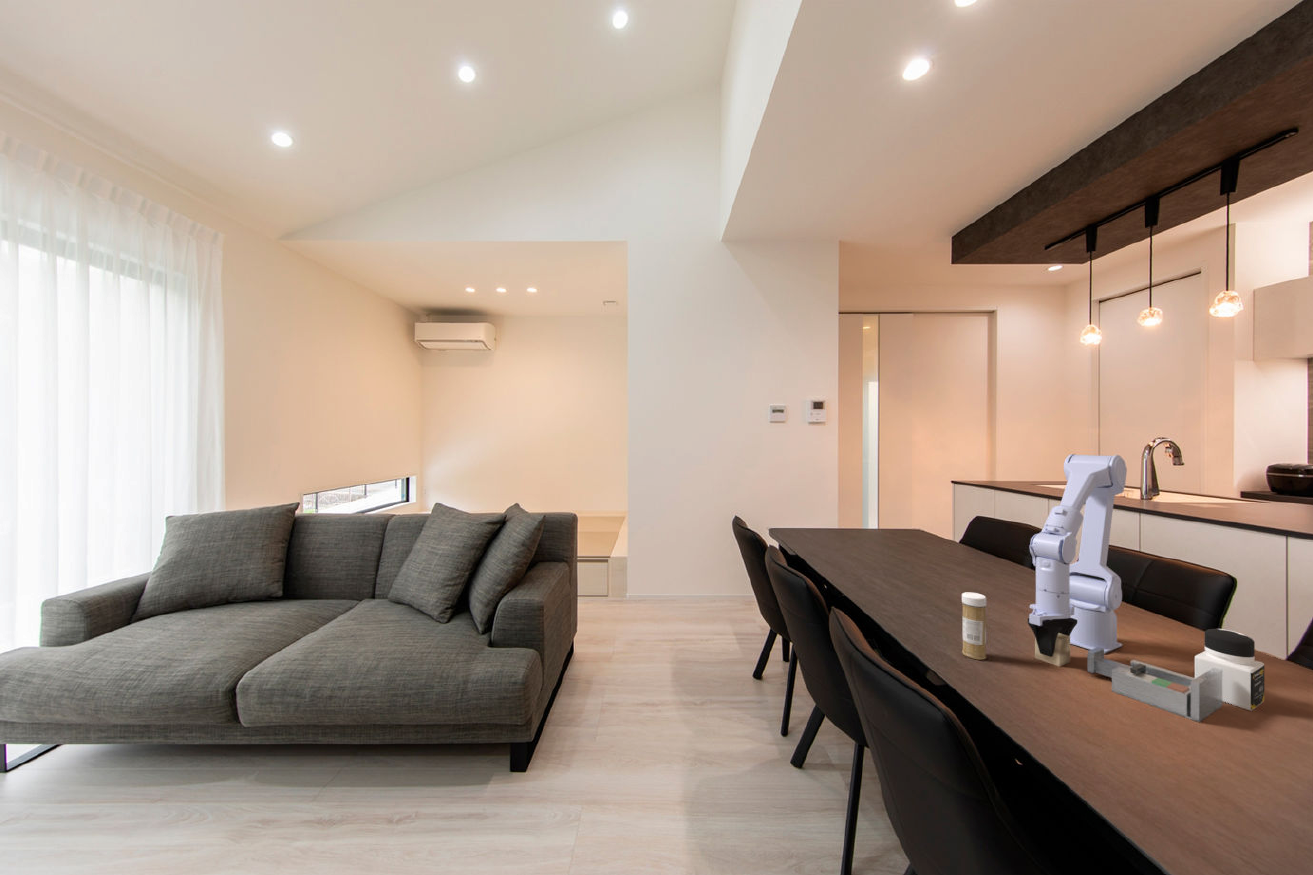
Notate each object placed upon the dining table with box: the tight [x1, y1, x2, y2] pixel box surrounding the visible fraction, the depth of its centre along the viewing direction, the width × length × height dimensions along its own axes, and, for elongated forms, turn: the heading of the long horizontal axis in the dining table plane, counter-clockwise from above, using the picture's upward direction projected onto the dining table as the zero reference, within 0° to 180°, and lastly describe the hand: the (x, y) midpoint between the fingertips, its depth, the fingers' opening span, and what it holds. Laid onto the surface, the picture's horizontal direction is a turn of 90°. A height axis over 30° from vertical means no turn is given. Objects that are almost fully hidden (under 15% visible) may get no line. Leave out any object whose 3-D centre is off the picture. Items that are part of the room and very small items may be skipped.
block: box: [1034, 633, 1071, 667], centre depth 106 cm, size 4×4×6 cm
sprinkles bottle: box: [961, 591, 987, 661], centre depth 108 cm, size 5×5×14 cm
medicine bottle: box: [1194, 628, 1265, 712], centre depth 91 cm, size 7×7×12 cm
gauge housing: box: [1111, 659, 1223, 723], centre depth 91 cm, size 11×12×6 cm
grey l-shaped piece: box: [1087, 647, 1149, 679], centre depth 96 cm, size 8×8×4 cm
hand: (1052, 652), depth 106 cm, fingers closed on block, 4 cm apart
